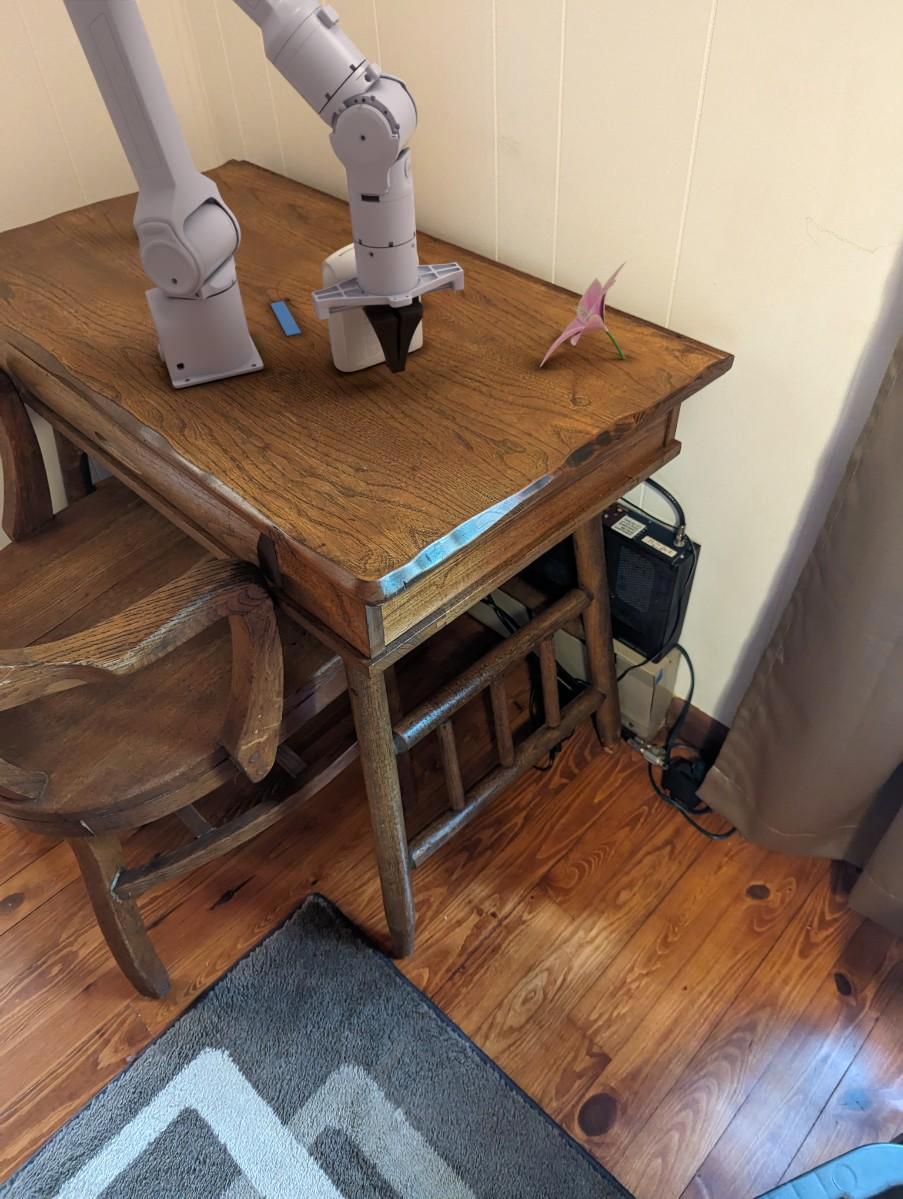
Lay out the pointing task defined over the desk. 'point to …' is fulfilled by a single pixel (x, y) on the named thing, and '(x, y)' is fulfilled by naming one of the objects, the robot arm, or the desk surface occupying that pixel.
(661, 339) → the desk surface
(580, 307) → the lily
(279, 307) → the tape marks
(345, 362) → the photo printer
